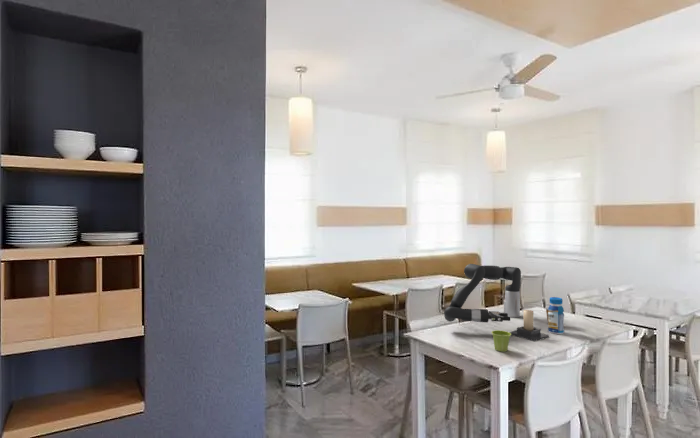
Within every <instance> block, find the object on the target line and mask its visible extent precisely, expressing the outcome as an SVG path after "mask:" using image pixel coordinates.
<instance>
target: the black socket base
mask: <svg viewBox="0 0 700 438" xmlns="http://www.w3.org/2000/svg"><path fill="white" fill-rule="evenodd" d="M509 333H511V336H514V337H517V338H521V339H525V340H527V341H528V340H529V341H531V342H537V341H539V340H540V339H541V340H543V338H544V339H546V338H547V339H548V338H550V335H549V334H545V333H543V332H542V329H540V328H538V327H534V326H533V330H532V331H529V330H525V329H524V325H522V326H519V327H516V330H513V331H509Z"/></svg>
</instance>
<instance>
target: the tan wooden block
mask: <svg viewBox="0 0 700 438" xmlns="http://www.w3.org/2000/svg"><path fill="white" fill-rule="evenodd" d="M522 313H523V314H522V315H523V326H524V329H525V330H529V331H532V330H533V327H534V310H530V309H523V312H522Z"/></svg>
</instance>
